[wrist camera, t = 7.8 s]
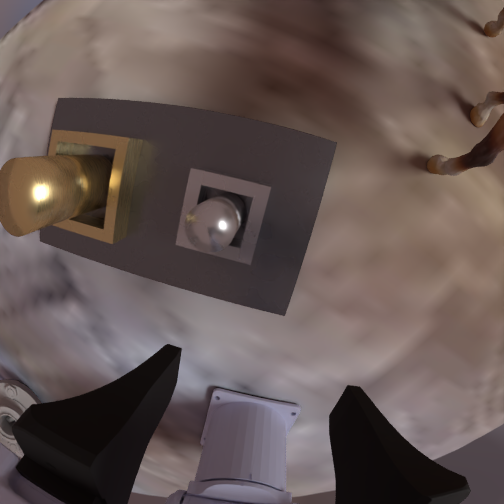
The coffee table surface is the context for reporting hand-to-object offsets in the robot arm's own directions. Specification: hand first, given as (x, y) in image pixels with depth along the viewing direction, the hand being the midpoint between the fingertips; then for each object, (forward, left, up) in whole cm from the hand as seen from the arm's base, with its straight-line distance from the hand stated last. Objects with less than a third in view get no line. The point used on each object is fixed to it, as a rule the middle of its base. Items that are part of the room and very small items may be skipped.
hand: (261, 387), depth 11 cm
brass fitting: (+5, +14, -9) cm, 17 cm away
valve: (-32, +31, -10) cm, 46 cm away
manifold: (+5, +9, -10) cm, 14 cm away
